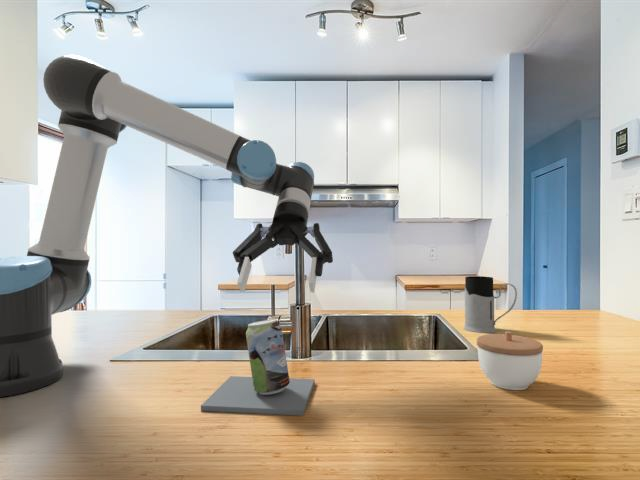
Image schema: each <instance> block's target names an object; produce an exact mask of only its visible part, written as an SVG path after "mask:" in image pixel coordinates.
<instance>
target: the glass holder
mask: <svg viewBox="0 0 640 480" xmlns="http://www.w3.org/2000/svg"><path fill="white" fill-rule="evenodd" d="M464 279H465V284H464V326H463V330H464V331H468V332H471V333H478V334H493V333H495V332H497V329H496V327H495V326H496V322H497V321H498V320H499V319H501V318H503V317H505V316H506V315H507V314H508V313H510V312H511V311H512V309H513V308H514V306H515V304H516V301H517V299H518V298H517V296H518V295H517V294H518V292H517V288H516V286H515V285H514V284H511V283H507V282H506V283H503V284H502V285H500V287H499V289H498V296H495V295H494V277H491V276H484V275H483V276H482V275H481V276H480V275H479V276H474V275H470V276H465V278H464ZM508 285H510V286H511V287H513V289H514V292H515V293H514V301H513V303H512V304H511V306H510V307H509V309H508V310H507V311H505V312H504V313H503V314H501V315H500V316H498V317H497V318H496V319H495V299H499V298H500V297H501V295H502V294H501V291H502V289H503V287H504V286H508Z"/></svg>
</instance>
